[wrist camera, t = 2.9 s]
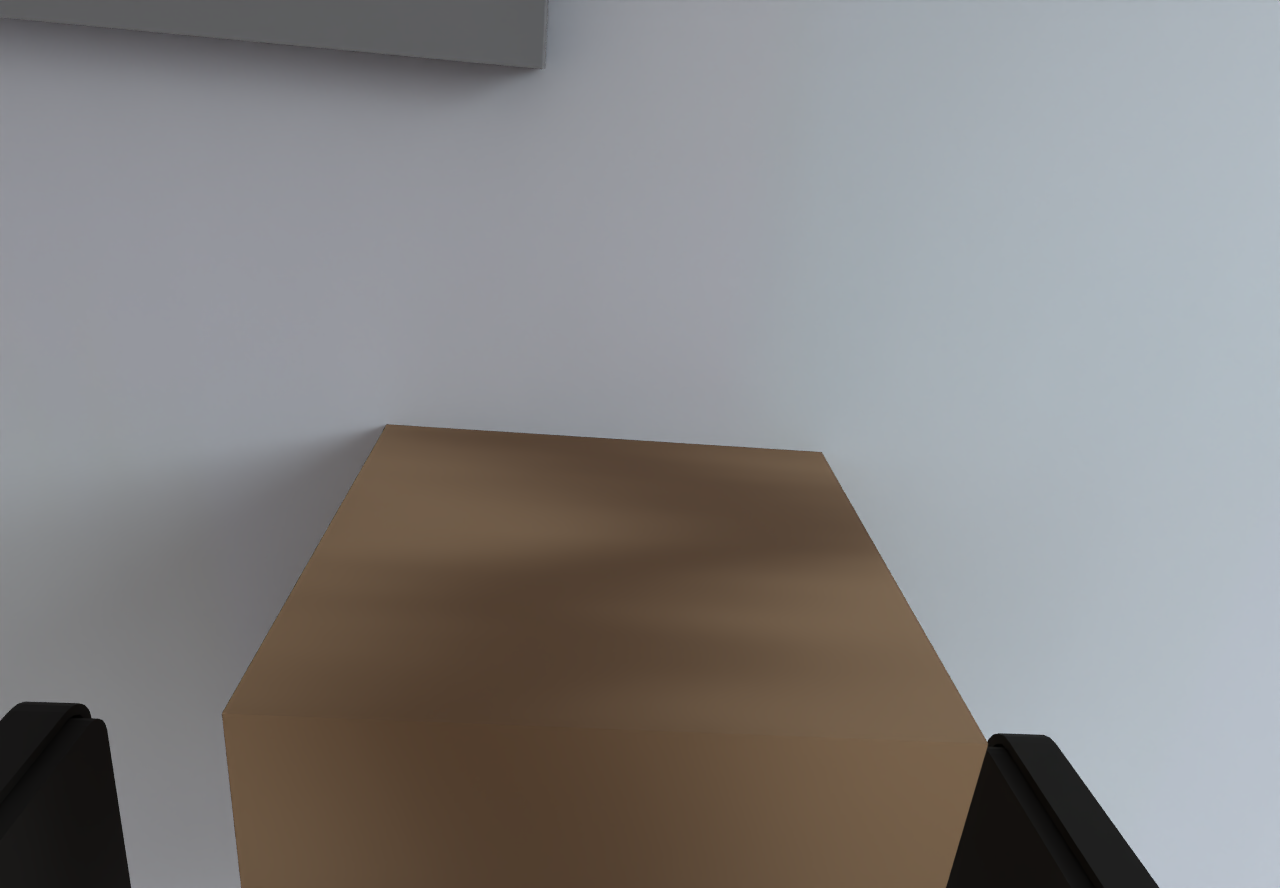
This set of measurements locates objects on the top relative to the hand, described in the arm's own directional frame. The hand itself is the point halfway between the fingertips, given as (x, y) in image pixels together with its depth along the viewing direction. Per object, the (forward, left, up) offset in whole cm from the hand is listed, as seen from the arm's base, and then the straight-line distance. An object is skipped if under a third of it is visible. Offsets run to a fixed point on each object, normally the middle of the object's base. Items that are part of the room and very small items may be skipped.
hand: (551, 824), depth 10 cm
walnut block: (0, -1, -3) cm, 3 cm away
